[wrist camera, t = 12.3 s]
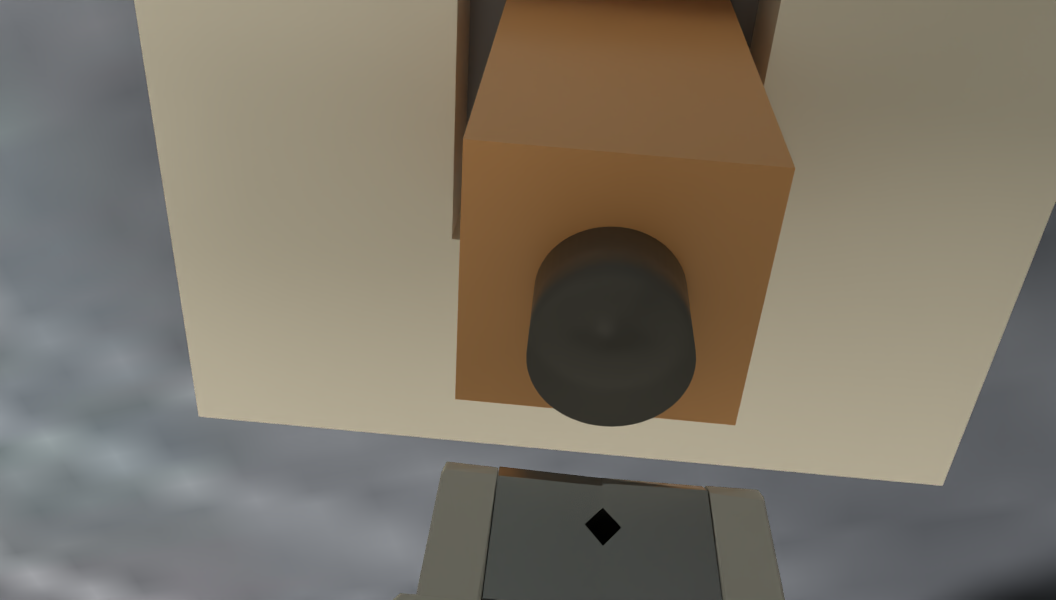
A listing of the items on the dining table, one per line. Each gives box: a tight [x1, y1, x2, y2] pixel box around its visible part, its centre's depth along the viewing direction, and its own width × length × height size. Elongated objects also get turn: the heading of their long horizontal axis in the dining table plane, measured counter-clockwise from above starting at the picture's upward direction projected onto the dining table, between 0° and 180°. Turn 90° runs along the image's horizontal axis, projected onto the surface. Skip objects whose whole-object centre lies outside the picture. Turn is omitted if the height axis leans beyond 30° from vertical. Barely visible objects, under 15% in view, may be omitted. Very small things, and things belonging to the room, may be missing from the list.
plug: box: [455, 0, 795, 427], centre depth 15 cm, size 4×4×10 cm
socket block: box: [134, 0, 1056, 486], centre depth 19 cm, size 17×16×4 cm
